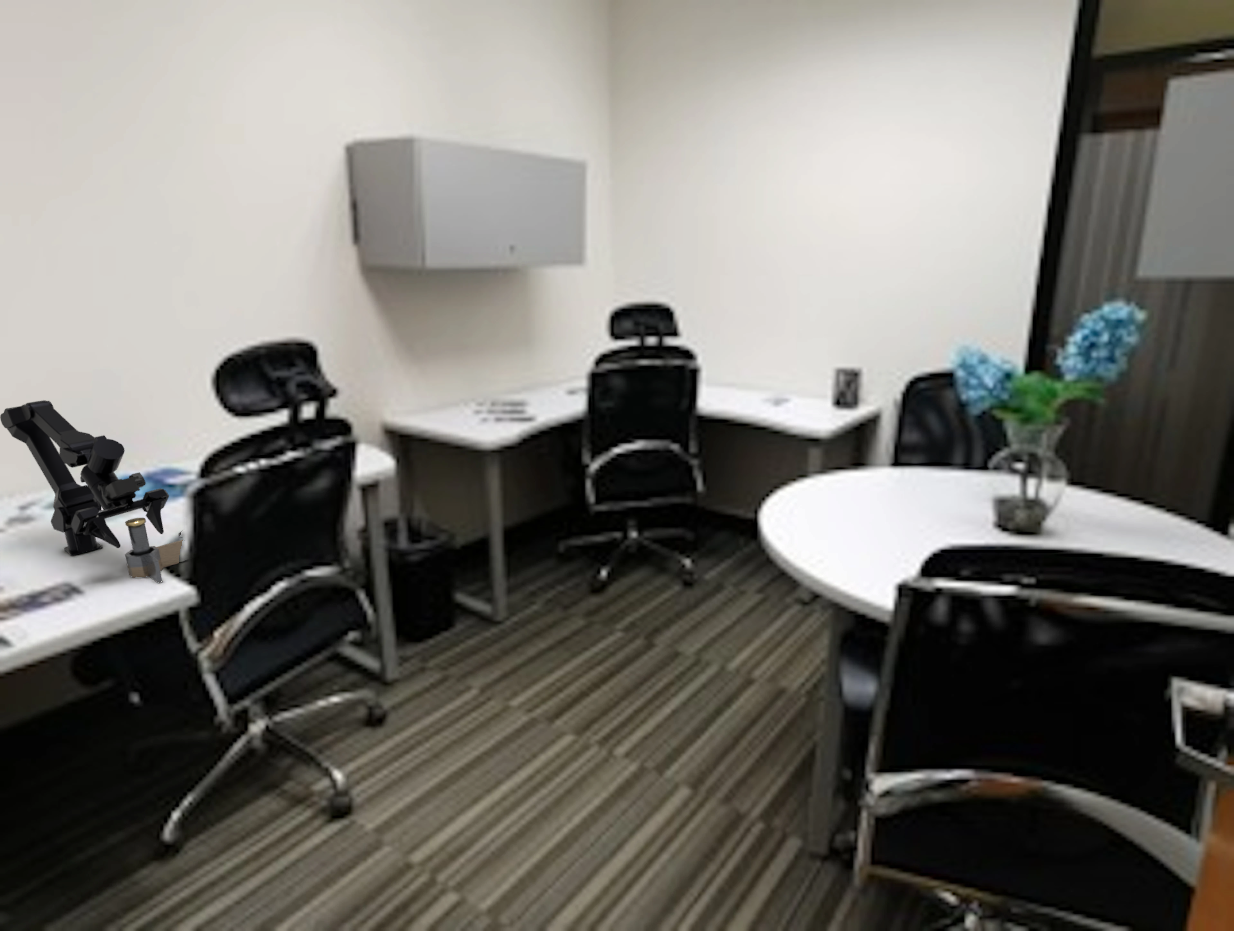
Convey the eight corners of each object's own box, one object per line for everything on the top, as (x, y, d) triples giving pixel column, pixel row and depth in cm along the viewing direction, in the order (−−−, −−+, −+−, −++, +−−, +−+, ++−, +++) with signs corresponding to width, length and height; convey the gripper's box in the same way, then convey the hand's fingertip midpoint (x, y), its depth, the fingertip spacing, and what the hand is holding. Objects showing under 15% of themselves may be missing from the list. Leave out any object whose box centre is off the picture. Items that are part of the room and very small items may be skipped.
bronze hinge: (126, 572, 166) (122, 552, 164) (182, 556, 174) (178, 536, 173) (145, 587, 158) (140, 566, 157) (202, 569, 167) (198, 549, 165)
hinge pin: (132, 574, 165) (121, 522, 161) (147, 567, 168) (136, 516, 165) (145, 576, 164) (134, 524, 160) (160, 569, 167) (149, 518, 164)
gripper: (65, 475, 153) (104, 534, 151) (156, 454, 169) (193, 507, 167) (55, 505, 159) (92, 562, 157) (144, 481, 175) (179, 533, 173)
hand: (141, 539), depth 163 cm, fingers open, 9 cm apart
